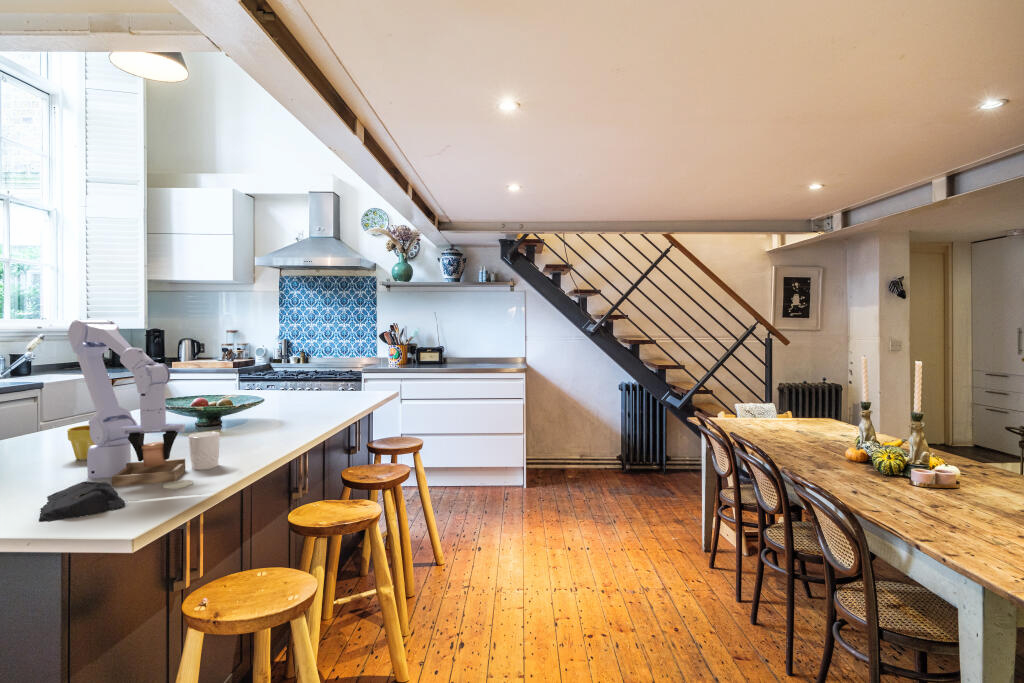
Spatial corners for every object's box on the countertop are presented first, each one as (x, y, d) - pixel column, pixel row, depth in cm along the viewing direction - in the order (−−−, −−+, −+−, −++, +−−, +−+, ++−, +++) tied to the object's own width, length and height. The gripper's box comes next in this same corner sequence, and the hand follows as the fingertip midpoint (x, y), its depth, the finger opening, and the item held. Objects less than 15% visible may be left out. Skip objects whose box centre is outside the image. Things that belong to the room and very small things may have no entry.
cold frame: (112, 488, 141) (111, 472, 141) (127, 477, 151) (127, 462, 151) (174, 483, 145) (174, 468, 145) (185, 472, 155) (185, 458, 155)
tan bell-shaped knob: (139, 468, 145) (138, 447, 145) (146, 463, 150) (145, 443, 150) (163, 465, 146) (162, 445, 146) (169, 460, 152) (168, 441, 152)
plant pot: (92, 461, 169) (92, 430, 169) (59, 462, 169) (58, 430, 169) (117, 454, 179) (116, 424, 179) (86, 454, 179) (85, 424, 179)
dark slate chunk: (119, 489, 142) (118, 470, 142) (126, 511, 125) (125, 490, 125) (41, 501, 132) (40, 481, 132) (37, 527, 115) (36, 504, 115)
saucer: (156, 493, 136) (156, 489, 136) (165, 484, 144) (165, 480, 144) (191, 490, 139) (191, 486, 139) (198, 481, 146) (198, 478, 146)
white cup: (226, 465, 163) (225, 431, 163) (209, 472, 156) (208, 437, 155) (201, 464, 164) (200, 431, 164) (183, 471, 156) (182, 436, 156)
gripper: (115, 412, 142) (116, 465, 142) (179, 410, 146) (180, 461, 147) (125, 408, 149) (126, 459, 149) (186, 406, 153) (187, 455, 153)
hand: (154, 459), depth 148 cm, fingers closed on tan bell-shaped knob, 5 cm apart
